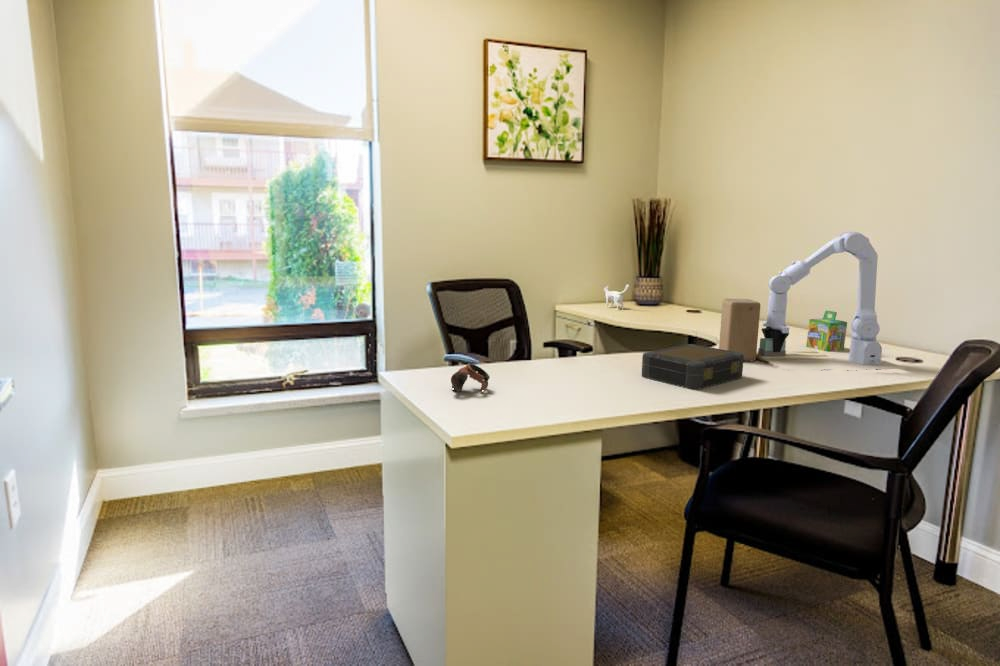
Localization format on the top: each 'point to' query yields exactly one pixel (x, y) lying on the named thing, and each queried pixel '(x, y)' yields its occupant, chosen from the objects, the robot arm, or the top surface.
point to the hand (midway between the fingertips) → (773, 350)
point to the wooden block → (740, 327)
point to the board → (797, 356)
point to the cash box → (692, 365)
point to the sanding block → (770, 348)
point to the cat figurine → (614, 296)
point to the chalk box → (826, 333)
